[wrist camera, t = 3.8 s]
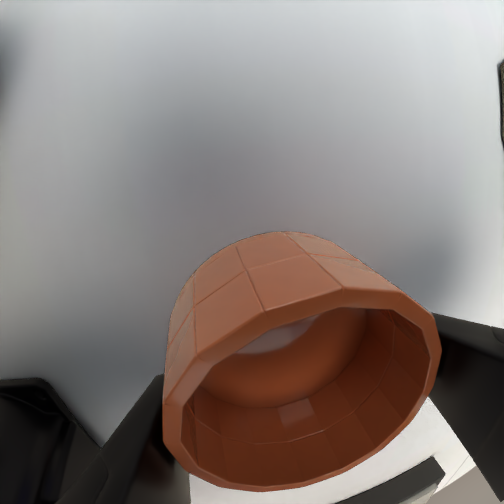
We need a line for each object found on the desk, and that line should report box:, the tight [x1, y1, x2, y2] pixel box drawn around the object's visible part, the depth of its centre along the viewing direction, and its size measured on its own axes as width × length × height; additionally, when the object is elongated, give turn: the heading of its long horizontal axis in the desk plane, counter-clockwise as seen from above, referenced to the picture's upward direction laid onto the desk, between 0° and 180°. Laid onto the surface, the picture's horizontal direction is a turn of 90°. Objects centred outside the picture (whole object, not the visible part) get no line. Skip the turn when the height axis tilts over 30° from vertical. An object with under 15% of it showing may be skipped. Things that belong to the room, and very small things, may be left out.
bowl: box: [162, 231, 442, 492], centre depth 8 cm, size 7×7×4 cm
